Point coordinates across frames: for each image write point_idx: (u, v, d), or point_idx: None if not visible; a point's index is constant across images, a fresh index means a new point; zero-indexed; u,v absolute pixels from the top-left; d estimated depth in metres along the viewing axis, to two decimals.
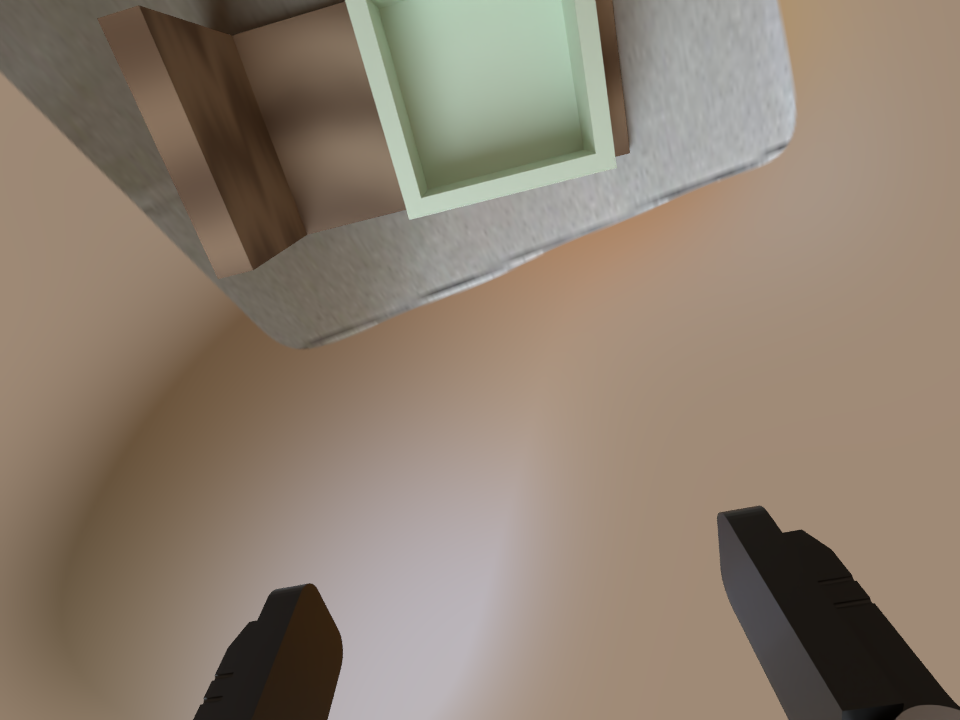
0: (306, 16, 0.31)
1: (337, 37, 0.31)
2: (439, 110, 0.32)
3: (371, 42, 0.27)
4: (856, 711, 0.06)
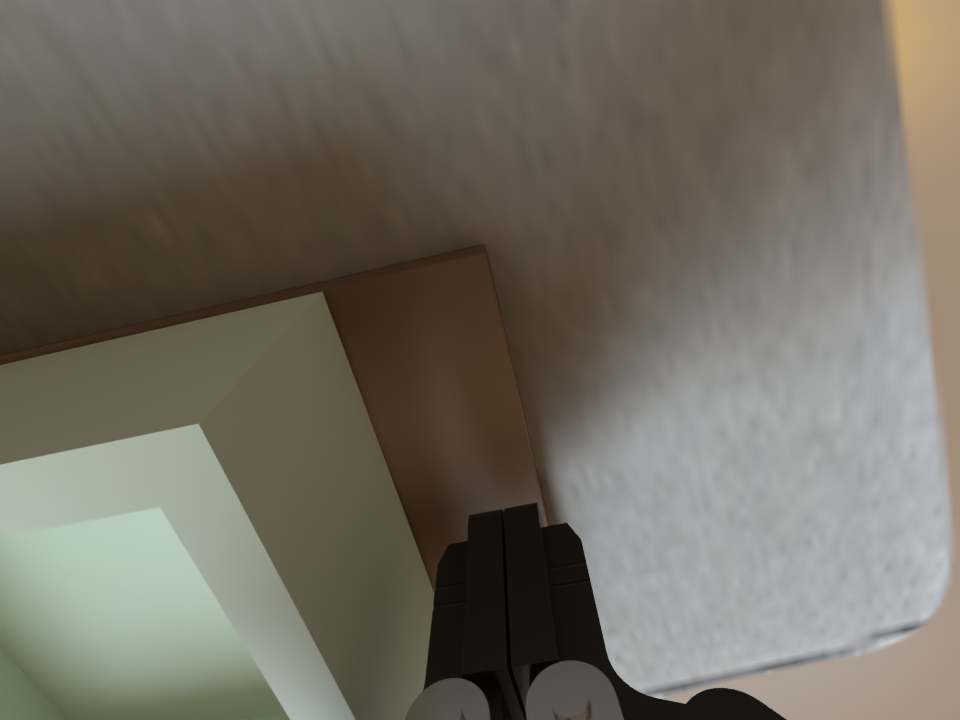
0: None
1: None
2: (66, 632, 0.13)
3: None
4: (524, 667, 0.08)
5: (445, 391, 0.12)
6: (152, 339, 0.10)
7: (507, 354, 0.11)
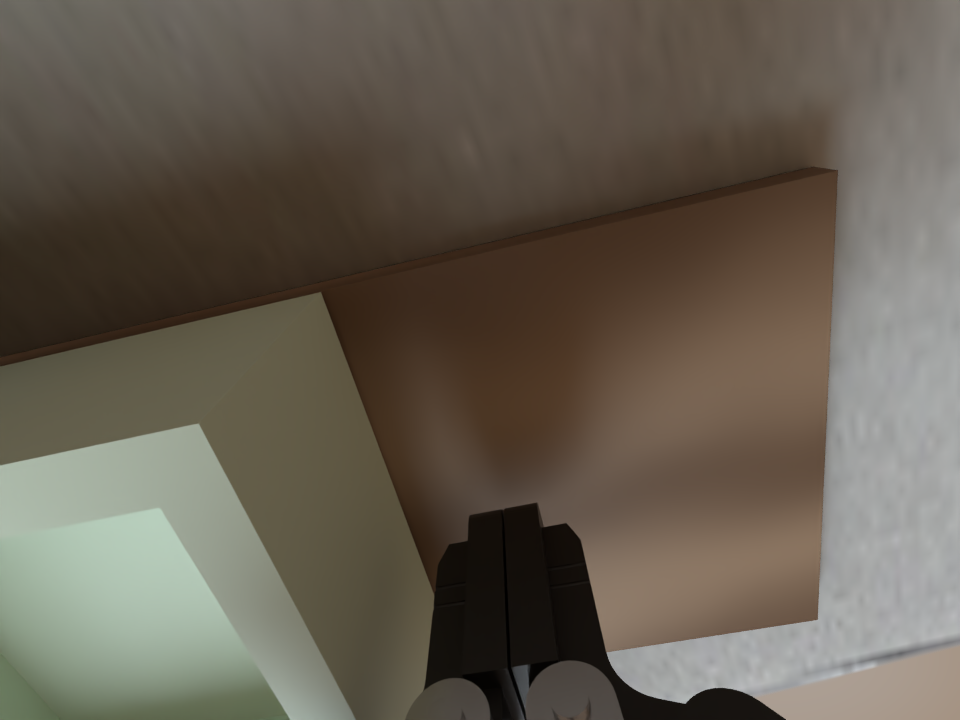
0: None
1: None
2: (64, 635, 0.13)
3: None
4: (524, 667, 0.08)
5: (755, 326, 0.11)
6: (150, 340, 0.10)
7: (831, 284, 0.11)
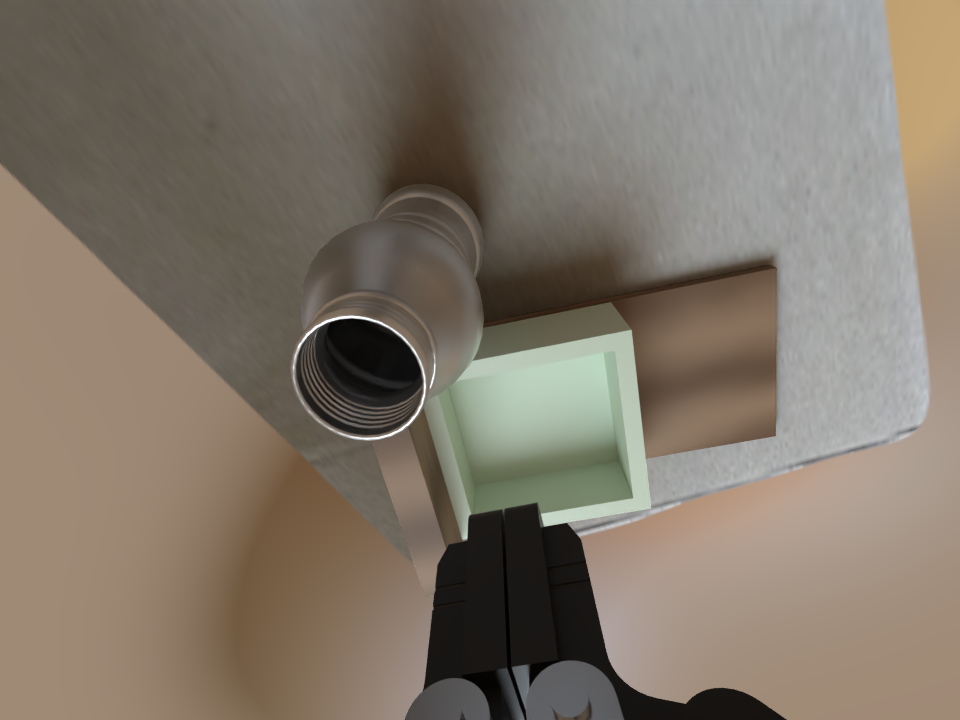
0: None
1: None
2: (489, 429, 0.35)
3: (439, 418, 0.30)
4: (524, 667, 0.08)
5: (751, 316, 0.33)
6: (560, 316, 0.32)
7: (775, 302, 0.33)
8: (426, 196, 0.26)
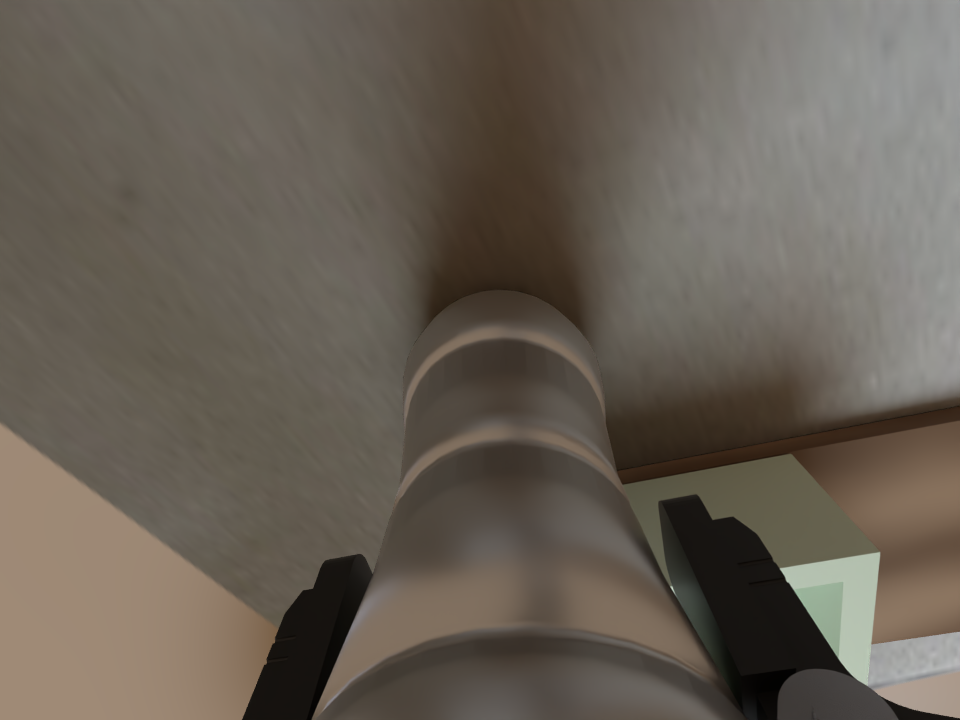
0: None
1: None
2: None
3: None
4: (754, 676, 0.07)
5: None
6: (712, 481, 0.20)
7: None
8: (515, 336, 0.14)
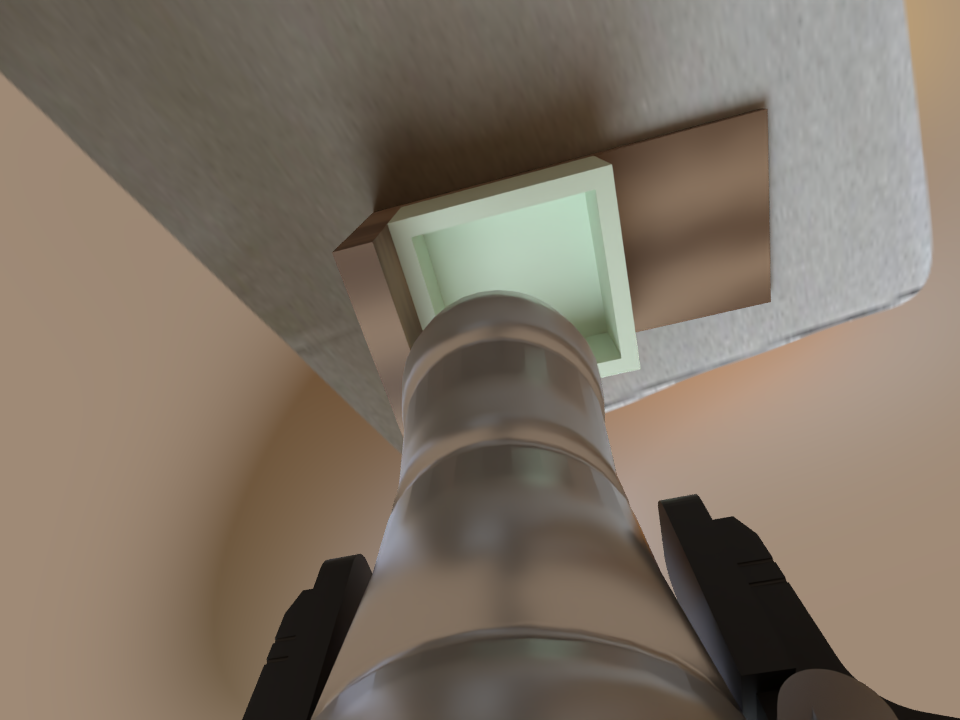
0: None
1: None
2: None
3: (417, 275, 0.29)
4: (754, 676, 0.07)
5: (741, 166, 0.31)
6: (540, 171, 0.31)
7: (767, 149, 0.31)
8: (514, 336, 0.14)
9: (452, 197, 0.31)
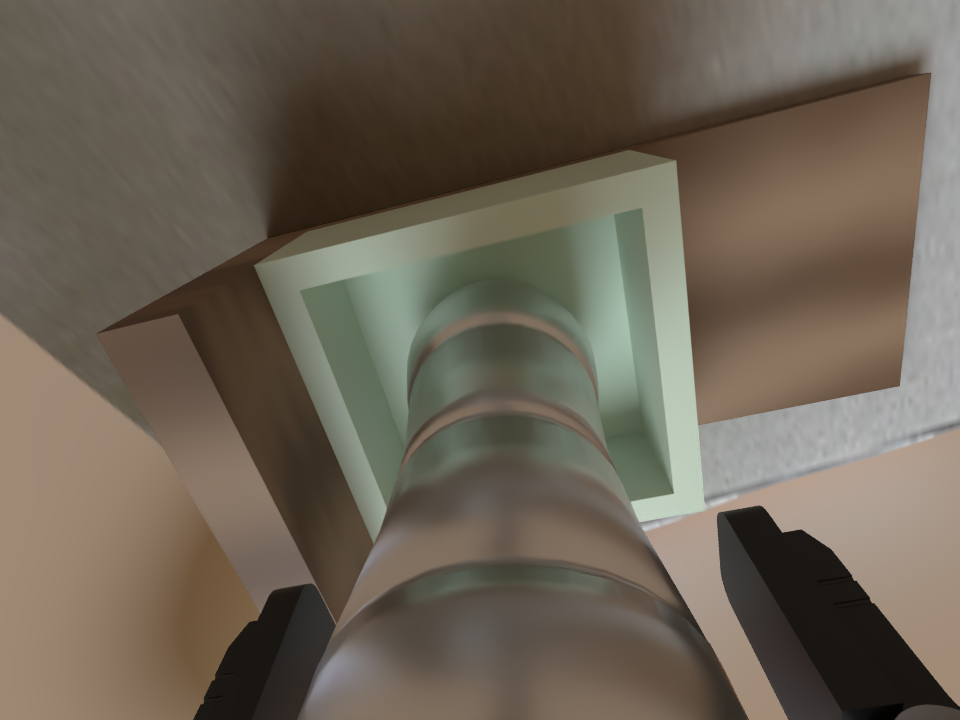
0: None
1: None
2: None
3: (316, 355, 0.16)
4: (856, 711, 0.06)
5: (876, 170, 0.19)
6: (539, 175, 0.18)
7: (923, 143, 0.18)
8: (513, 320, 0.15)
9: (386, 217, 0.18)
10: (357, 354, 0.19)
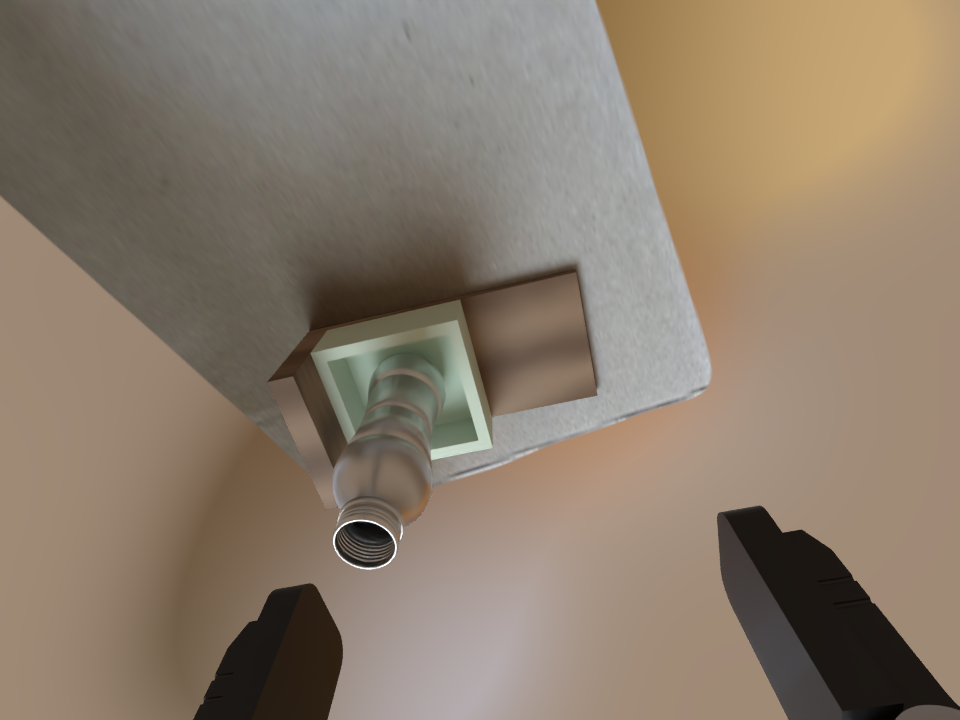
0: None
1: None
2: None
3: (332, 385, 0.43)
4: (856, 711, 0.06)
5: (563, 307, 0.45)
6: (422, 310, 0.44)
7: (580, 297, 0.45)
8: (404, 372, 0.41)
9: (360, 328, 0.44)
10: (348, 382, 0.46)
